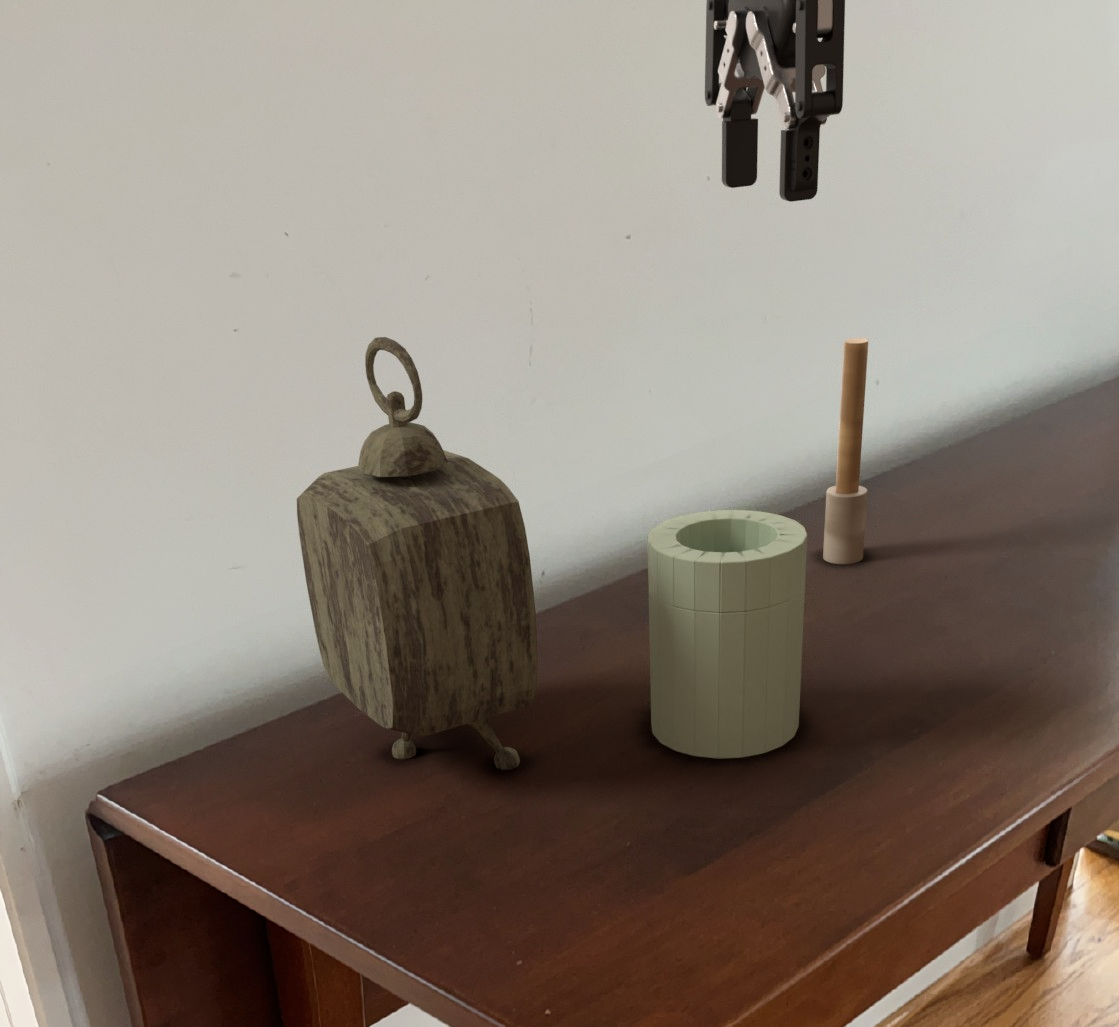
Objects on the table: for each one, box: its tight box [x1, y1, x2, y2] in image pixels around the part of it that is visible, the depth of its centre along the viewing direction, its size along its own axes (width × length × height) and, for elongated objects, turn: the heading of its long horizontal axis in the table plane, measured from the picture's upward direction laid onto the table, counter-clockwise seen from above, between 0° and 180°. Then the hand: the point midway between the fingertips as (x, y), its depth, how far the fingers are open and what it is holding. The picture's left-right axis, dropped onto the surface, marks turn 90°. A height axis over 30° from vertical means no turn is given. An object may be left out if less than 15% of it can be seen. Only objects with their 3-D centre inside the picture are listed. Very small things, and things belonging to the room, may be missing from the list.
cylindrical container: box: [647, 509, 808, 760], centre depth 89 cm, size 9×9×13 cm
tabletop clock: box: [296, 336, 538, 771], centre depth 85 cm, size 14×9×25 cm, turn 30°
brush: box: [822, 337, 869, 565], centre depth 111 cm, size 3×3×17 cm
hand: (767, 192), depth 90 cm, fingers open, 8 cm apart
